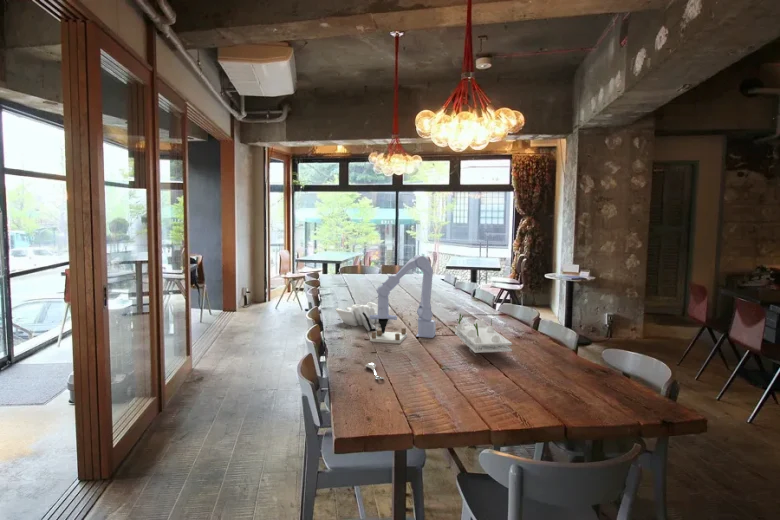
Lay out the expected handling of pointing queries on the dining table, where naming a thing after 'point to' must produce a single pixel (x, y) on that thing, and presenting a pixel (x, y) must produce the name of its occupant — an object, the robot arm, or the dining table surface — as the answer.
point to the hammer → (379, 330)
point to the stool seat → (389, 337)
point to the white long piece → (372, 366)
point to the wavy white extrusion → (353, 316)
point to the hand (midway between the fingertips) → (383, 332)
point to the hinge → (366, 321)
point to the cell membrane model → (482, 337)
